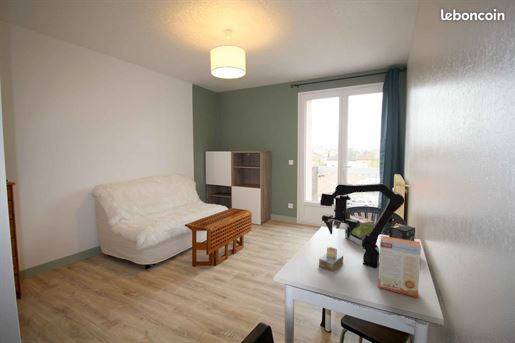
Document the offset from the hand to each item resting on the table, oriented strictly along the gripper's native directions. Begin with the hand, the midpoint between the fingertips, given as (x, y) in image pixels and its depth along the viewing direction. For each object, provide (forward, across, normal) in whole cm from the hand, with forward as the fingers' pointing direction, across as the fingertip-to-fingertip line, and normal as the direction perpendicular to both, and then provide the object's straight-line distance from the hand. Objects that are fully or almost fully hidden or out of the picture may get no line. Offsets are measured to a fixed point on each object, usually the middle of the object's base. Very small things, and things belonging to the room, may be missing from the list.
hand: (339, 236), depth 126 cm
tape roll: (+8, 0, +10) cm, 13 cm away
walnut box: (+12, 0, +10) cm, 16 cm away
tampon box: (+12, -22, -34) cm, 42 cm away
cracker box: (+12, -30, +11) cm, 34 cm away
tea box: (+12, +2, -34) cm, 36 cm away
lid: (+8, 0, +10) cm, 13 cm away
